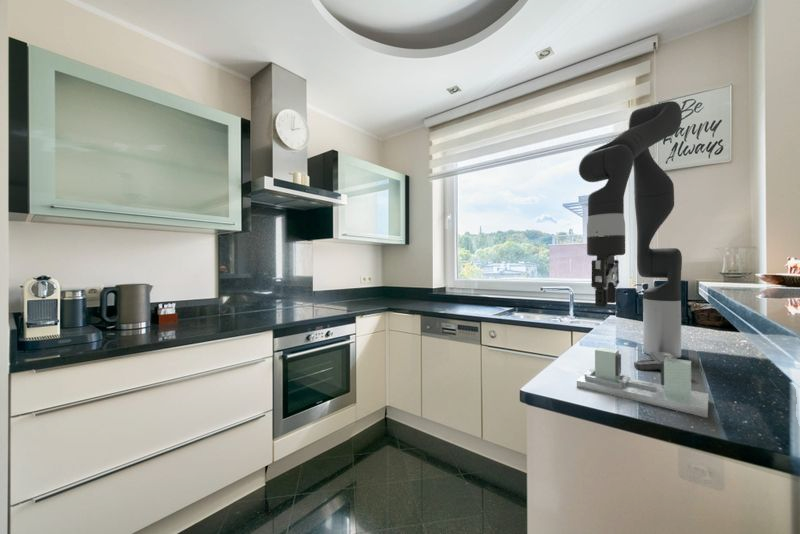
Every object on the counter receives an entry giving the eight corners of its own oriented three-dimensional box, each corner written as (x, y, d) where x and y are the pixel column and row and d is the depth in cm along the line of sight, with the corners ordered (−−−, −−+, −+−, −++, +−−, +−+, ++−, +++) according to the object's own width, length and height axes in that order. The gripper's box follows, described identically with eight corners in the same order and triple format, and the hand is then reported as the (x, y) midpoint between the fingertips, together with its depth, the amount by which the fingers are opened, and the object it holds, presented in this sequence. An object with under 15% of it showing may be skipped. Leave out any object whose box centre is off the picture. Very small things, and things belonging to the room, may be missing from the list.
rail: (588, 375, 82) (588, 342, 82) (708, 401, 66) (708, 360, 66) (576, 386, 75) (576, 350, 75) (707, 417, 59) (707, 371, 59)
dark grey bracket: (638, 366, 83) (687, 365, 78) (627, 351, 97) (668, 350, 93) (641, 380, 83) (691, 380, 78) (629, 363, 97) (671, 362, 92)
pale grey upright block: (599, 375, 77) (598, 347, 77) (621, 380, 74) (621, 350, 74) (595, 379, 75) (594, 349, 75) (617, 384, 72) (617, 353, 72)
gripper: (595, 237, 82) (595, 300, 82) (578, 234, 72) (578, 306, 72) (631, 235, 77) (631, 302, 77) (618, 232, 67) (618, 309, 67)
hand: (606, 304), depth 75 cm, fingers open, 8 cm apart
